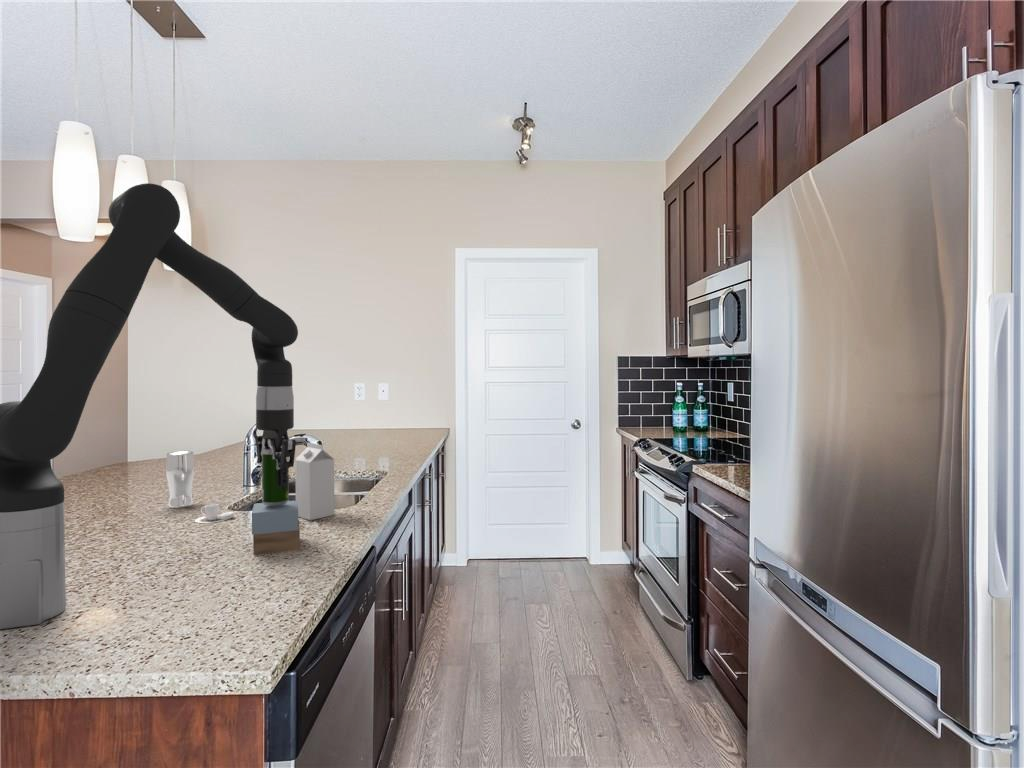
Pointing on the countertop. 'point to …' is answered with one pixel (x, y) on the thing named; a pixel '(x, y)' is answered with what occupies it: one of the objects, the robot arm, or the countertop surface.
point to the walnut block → (276, 542)
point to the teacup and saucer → (214, 514)
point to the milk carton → (315, 483)
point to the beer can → (272, 482)
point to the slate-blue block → (274, 518)
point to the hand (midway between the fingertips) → (275, 484)
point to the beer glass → (180, 478)
